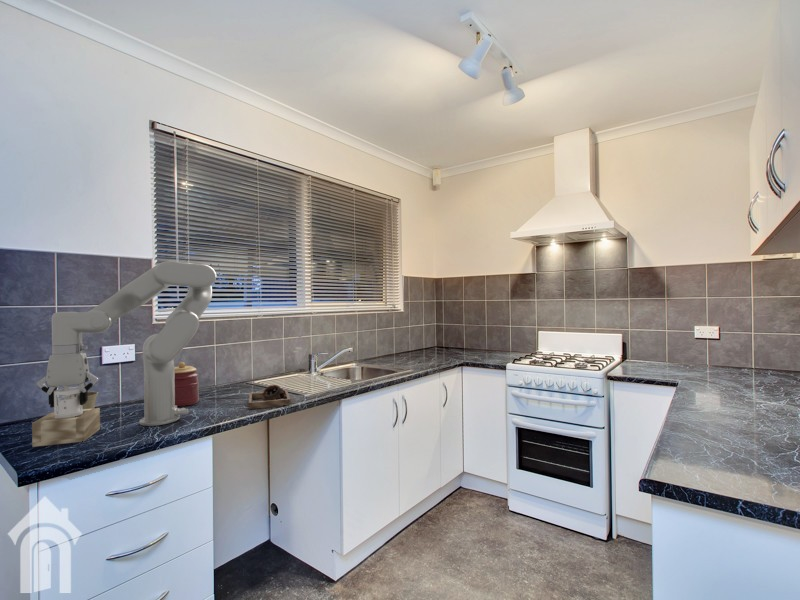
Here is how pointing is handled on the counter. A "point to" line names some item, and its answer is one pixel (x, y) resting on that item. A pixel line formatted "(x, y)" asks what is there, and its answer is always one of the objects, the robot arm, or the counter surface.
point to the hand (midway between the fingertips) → (68, 404)
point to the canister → (186, 385)
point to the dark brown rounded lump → (273, 393)
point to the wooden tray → (267, 403)
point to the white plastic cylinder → (67, 403)
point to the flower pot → (89, 400)
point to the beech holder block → (65, 428)
